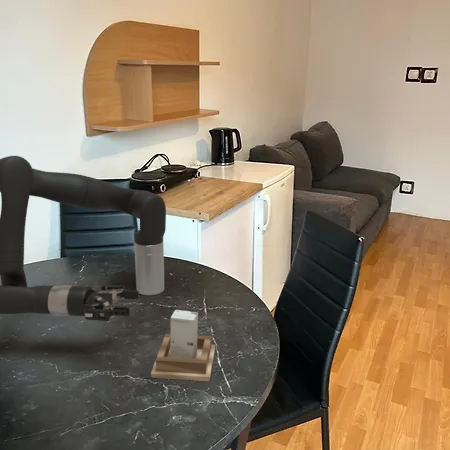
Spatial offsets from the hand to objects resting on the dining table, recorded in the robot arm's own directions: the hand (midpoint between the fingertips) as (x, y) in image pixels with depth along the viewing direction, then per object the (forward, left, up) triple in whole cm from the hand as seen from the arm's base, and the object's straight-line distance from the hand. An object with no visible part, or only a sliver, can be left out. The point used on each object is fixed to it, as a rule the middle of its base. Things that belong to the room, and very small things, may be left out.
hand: (134, 302), depth 119 cm
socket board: (+3, +13, -14) cm, 20 cm away
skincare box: (+2, +13, -14) cm, 19 cm away
